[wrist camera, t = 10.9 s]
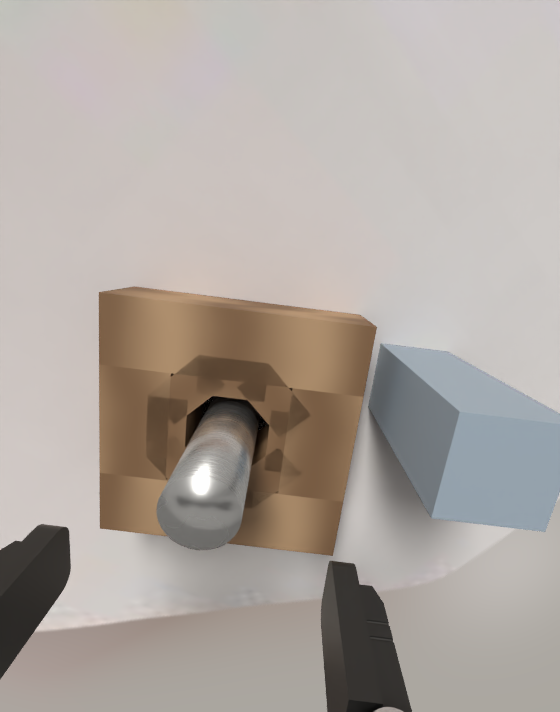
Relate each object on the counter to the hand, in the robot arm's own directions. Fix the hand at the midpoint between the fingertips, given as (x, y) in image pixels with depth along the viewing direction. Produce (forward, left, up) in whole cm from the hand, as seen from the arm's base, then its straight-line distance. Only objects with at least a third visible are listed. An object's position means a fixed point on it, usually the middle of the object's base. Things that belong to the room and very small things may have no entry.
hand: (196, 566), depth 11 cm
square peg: (-10, -3, -12) cm, 16 cm away
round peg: (0, 0, -12) cm, 12 cm away
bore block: (0, 0, -12) cm, 12 cm away
